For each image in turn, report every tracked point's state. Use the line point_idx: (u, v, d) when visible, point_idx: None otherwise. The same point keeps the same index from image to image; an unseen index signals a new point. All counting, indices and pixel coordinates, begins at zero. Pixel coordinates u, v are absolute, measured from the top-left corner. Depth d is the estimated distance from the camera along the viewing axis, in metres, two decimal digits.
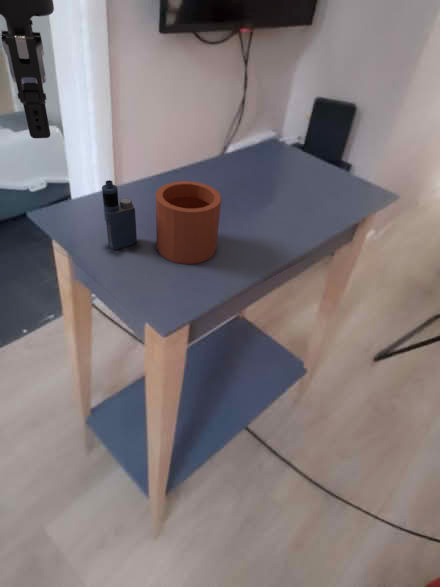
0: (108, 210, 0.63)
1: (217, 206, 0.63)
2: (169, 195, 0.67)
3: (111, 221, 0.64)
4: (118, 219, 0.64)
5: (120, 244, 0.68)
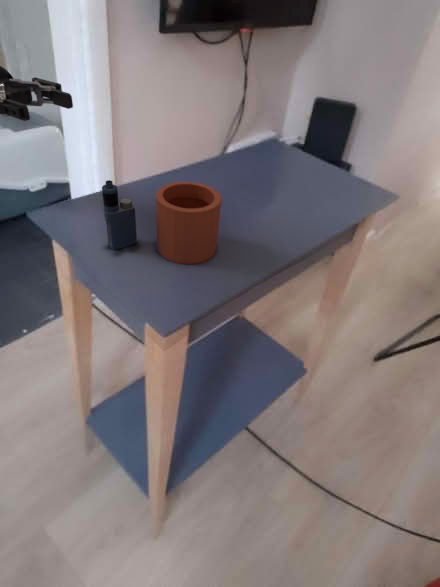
0: (108, 210, 0.63)
1: (217, 206, 0.63)
2: (169, 195, 0.67)
3: (111, 221, 0.64)
4: (118, 219, 0.64)
5: (120, 244, 0.68)
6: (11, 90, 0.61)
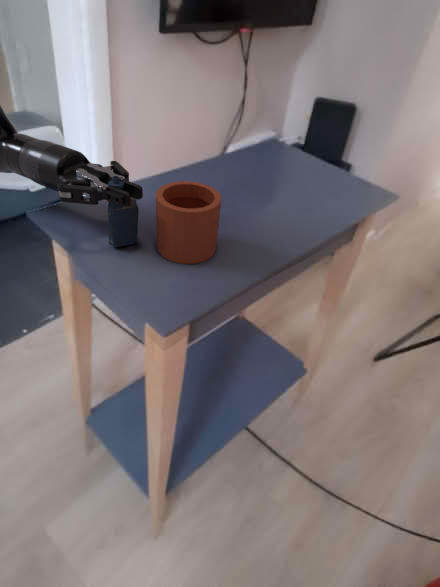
0: (112, 205, 0.63)
1: (217, 206, 0.63)
2: (169, 195, 0.67)
3: (114, 217, 0.64)
4: (121, 215, 0.64)
5: (120, 242, 0.67)
6: None
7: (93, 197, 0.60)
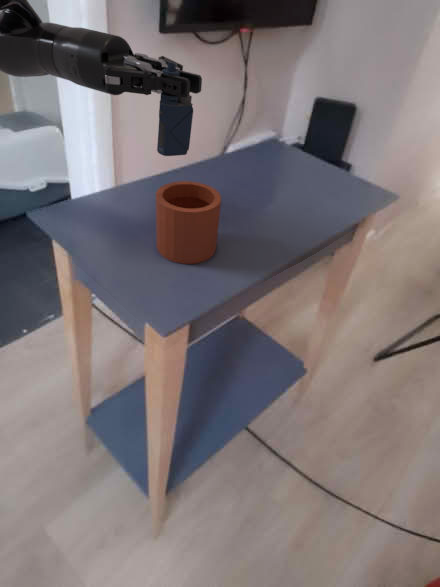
0: (166, 100, 0.54)
1: (217, 206, 0.63)
2: (169, 195, 0.67)
3: (167, 116, 0.55)
4: (175, 114, 0.55)
5: (171, 150, 0.58)
6: None
7: (146, 84, 0.51)
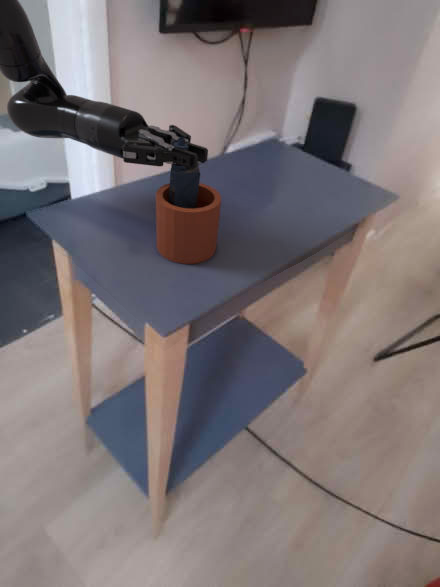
0: (176, 169, 0.61)
1: (217, 206, 0.63)
2: None
3: (177, 181, 0.62)
4: (184, 180, 0.62)
5: None
6: None
7: (159, 158, 0.57)
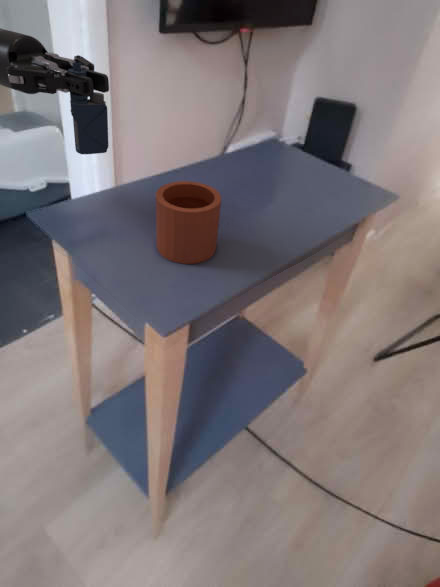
0: (74, 99, 0.54)
1: (217, 206, 0.63)
2: (169, 195, 0.67)
3: (78, 115, 0.56)
4: (86, 113, 0.56)
5: (88, 149, 0.59)
6: None
7: (49, 83, 0.51)
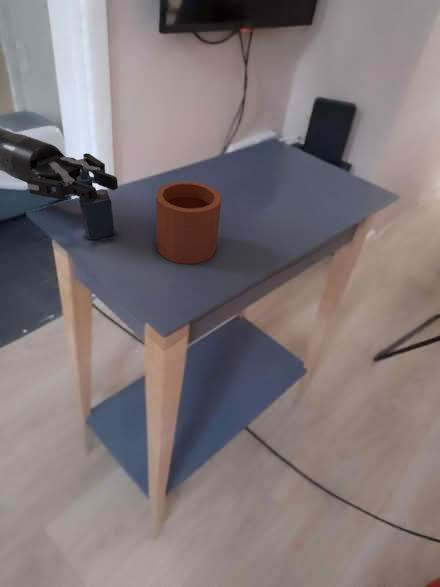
0: (83, 200, 0.64)
1: (217, 206, 0.63)
2: (169, 195, 0.67)
3: (86, 211, 0.65)
4: (94, 209, 0.66)
5: (96, 235, 0.69)
6: None
7: (59, 191, 0.60)
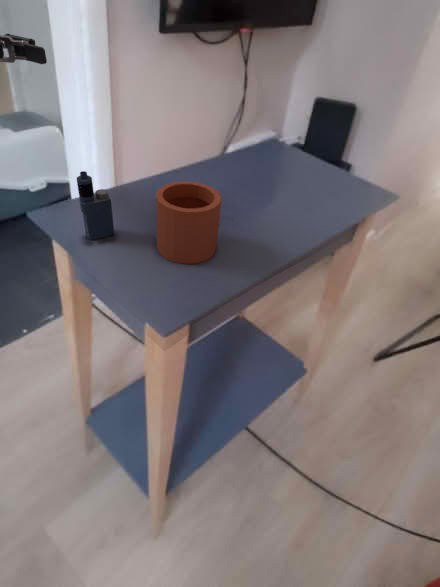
0: (83, 200, 0.64)
1: (217, 206, 0.63)
2: (169, 195, 0.67)
3: (86, 211, 0.65)
4: (94, 209, 0.66)
5: (96, 235, 0.69)
6: None
7: None
